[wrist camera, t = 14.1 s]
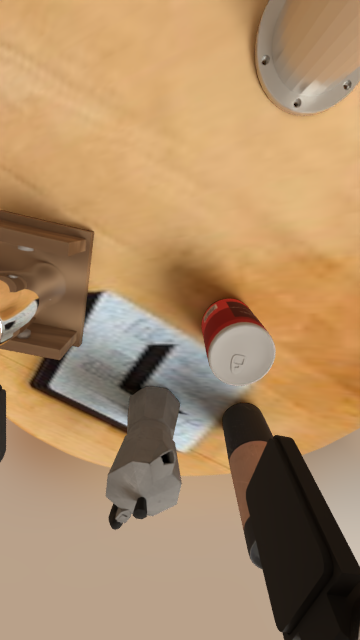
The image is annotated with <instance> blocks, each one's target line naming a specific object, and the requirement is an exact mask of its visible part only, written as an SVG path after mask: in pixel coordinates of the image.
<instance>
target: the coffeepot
mask: <svg viewBox="0 0 360 640" xmlns="http://www.w3.org/2000/svg"><path fill="white" fill-rule="evenodd" d="M179 408H180V403H179V401H178V400H177V399H176V397H175V396H174V395H173V394H172V393H171V392H170V391H169V390H168V389H165V388H161V387H153V386H152V387H148V386H146V387H145V388H143V389H141V390H139V391H137V392H136V393H135V394H134V395H132V396H130V401H129V409H128V426H127V435H126V436H125V438H124V440H123V443H122V445H121V447H120V449H119V451H118V454H117V456H116V458H115V460H114V463H113V465H112V467H111V469H110V472H109V474H108V479H107V488H106V497H107V498H108V499H109V500H111V501H112V502H113V506H112V509H111V512H110V515H109V522H110V525H111V527H112V529H119V528H120V527H121V525H122V524H123V522H124V523H126V522H127V520H128V519H129V518H130V517H131V514H133V516H134V517H135V518H138V519H143V518H145V517H147V515H149V516H154V515H156V514H158V513H160V512H162V511H164V510H166V509H168V508H170V507H172V506H174V505H176V504H177V500H178V496H179V492H180V488H181V477H180V471H179V465H178V459H177V453H176V447H175V442H174V441H173V435H174V431H175V426H176V422H177V417H178V413H179Z"/></svg>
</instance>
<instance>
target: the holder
mask: <svg viewBox="0 0 360 640" xmlns="http://www.w3.org/2000/svg"><path fill="white" fill-rule="evenodd" d="M93 237H94V232H92V231H88V230H83V229H79V228H75V227H71V226H66V225H62V224H58V223H54V222H49V221H45V220H41V219H37V218H32V217H28V216H24V215H20V214H16V213H11V212H7V211H3V210H0V271H18V270H23V269H24V268H26V267H27V266H28V265H30V264H32V263H35V262H45V263H49V264H51V265H53V266H55V267H56V268H57V269H58V270H59V271H60V272H61V273H62V274H63V276H64V278H65V281H66V293H65V296H64V297H63V299H62V300H61V301H60V302H58V303H56V304H54V305H51V306H47V307H45V308H44V309H43V310H42V312H41V313H40V314H39V316H38V317H37V318H36V319H35V321H34V322H33V323H32V324H31V325H30V326H29V327H28V328H27V329H25V330H24V331H23V332H22V333H20V334H19V335H17V336H16V337H14V338H13V339H11V340H10V341H8V342H6V343H4V344H3V345H1V346H0V349H5V350H10V351H15V352H20V353H25V354H30V355H36V356H41V357H46V358H51V359H56V360H60V359H61V358H62V357H63V355H64V354H65V353H66V352H67V351H68V350H69V348H70V347H71V346H76V347H79V346H80V345H81V344H82V337H83V328H84V319H85V310H86V301H87V292H88V283H89V274H90V265H91V256H92V246H93Z"/></svg>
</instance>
